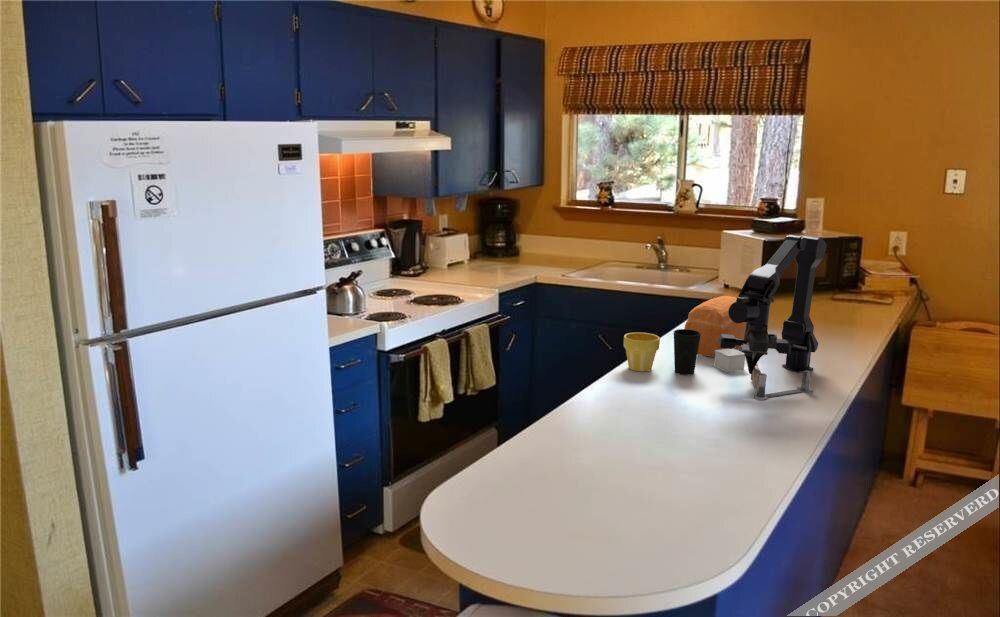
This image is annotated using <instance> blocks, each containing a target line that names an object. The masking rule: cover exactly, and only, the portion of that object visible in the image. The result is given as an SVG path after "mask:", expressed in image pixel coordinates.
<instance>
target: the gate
mask: <svg viewBox="0 0 1000 617" xmlns="http://www.w3.org/2000/svg"><path fill="white" fill-rule="evenodd" d="M760 373H762V372H761V370H760V367H759V364H758V363H757V364H756V366H755V368H754V370H753V371H752V373H751V374H750V381H751V383H752V384H753V386H754V388H755V394H757V387H758V377H759V374H760Z"/></svg>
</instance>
